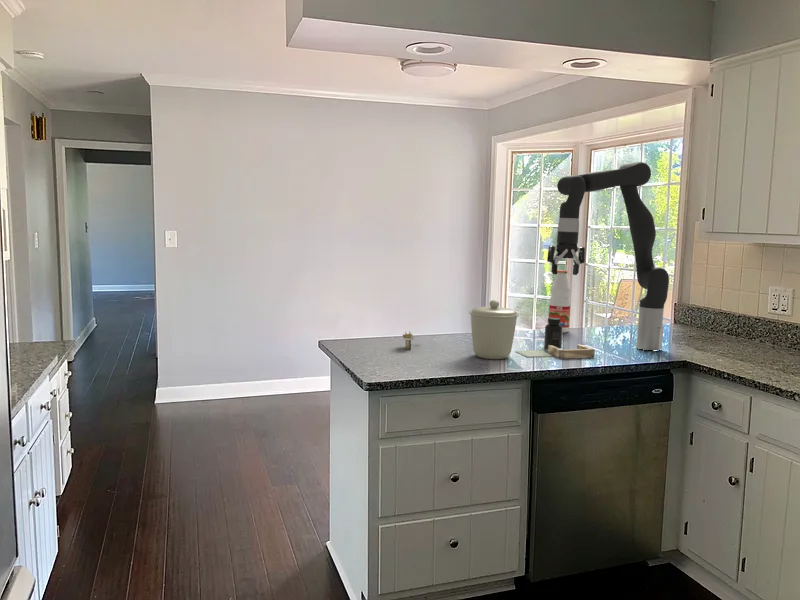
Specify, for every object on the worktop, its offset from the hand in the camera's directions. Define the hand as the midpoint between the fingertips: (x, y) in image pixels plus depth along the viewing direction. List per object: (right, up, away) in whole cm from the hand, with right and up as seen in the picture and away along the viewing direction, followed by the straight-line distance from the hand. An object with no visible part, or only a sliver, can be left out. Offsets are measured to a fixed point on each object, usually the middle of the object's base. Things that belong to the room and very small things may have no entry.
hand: (564, 274), depth 247 cm
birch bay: (+4, -30, +5) cm, 31 cm away
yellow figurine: (-58, -29, +10) cm, 66 cm away
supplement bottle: (0, -29, +19) cm, 34 cm away
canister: (-27, -31, -1) cm, 41 cm away
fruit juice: (+11, -24, +59) cm, 65 cm away
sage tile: (-11, -30, +5) cm, 32 cm away
